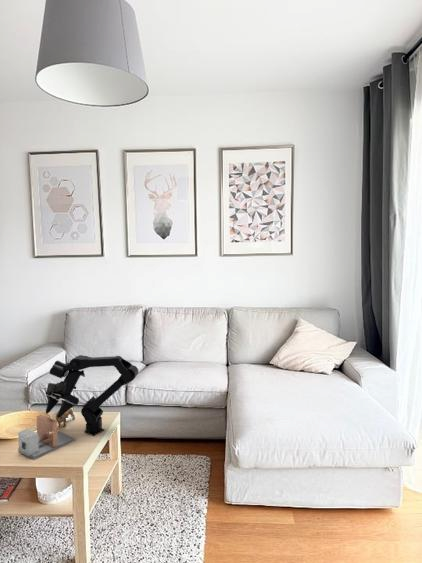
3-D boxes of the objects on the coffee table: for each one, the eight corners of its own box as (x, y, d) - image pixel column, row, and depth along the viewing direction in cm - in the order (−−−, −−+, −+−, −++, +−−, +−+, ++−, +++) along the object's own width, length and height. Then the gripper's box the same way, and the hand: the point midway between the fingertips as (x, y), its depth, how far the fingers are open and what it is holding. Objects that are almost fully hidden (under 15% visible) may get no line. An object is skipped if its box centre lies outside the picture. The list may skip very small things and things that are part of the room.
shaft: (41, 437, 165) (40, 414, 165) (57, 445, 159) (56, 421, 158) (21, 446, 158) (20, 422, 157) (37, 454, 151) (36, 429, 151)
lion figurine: (64, 430, 175) (64, 412, 175) (53, 430, 176) (52, 412, 175) (77, 417, 190) (76, 400, 190) (66, 417, 190) (66, 400, 190)
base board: (59, 433, 173) (58, 431, 172) (75, 440, 166) (74, 438, 166) (18, 451, 157) (18, 448, 157) (34, 459, 150) (34, 456, 150)
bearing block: (28, 446, 158) (27, 428, 158) (38, 451, 154) (38, 433, 153) (18, 450, 155) (18, 432, 155) (29, 456, 150) (28, 437, 150)
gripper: (45, 372, 172) (26, 405, 165) (68, 377, 161) (49, 412, 154) (63, 382, 180) (46, 414, 172) (86, 387, 168) (69, 421, 161)
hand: (52, 415), depth 165 cm, fingers open, 9 cm apart
